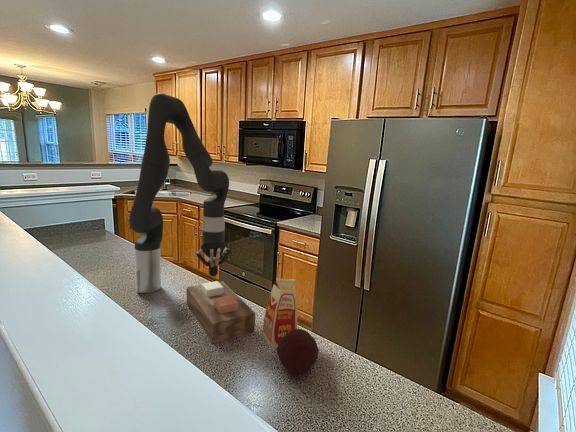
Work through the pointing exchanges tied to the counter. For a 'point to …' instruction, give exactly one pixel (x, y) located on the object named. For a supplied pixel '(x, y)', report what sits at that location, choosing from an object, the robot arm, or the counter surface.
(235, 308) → the salmon pink block
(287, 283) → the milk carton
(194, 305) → the block
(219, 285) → the cream square block
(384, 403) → the counter surface
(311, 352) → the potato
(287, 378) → the counter surface
